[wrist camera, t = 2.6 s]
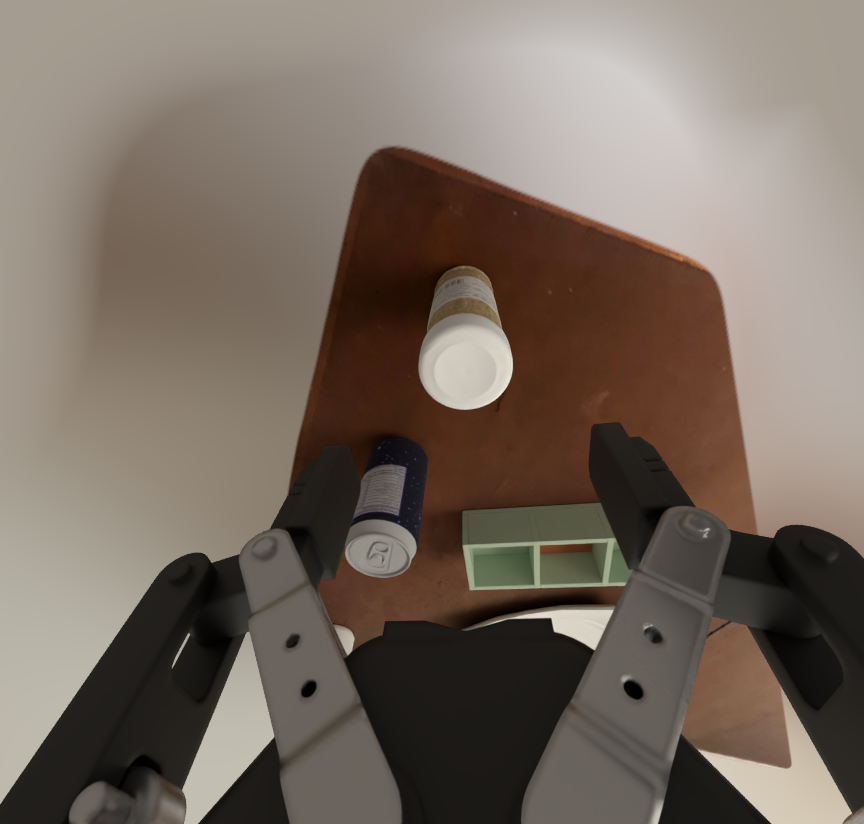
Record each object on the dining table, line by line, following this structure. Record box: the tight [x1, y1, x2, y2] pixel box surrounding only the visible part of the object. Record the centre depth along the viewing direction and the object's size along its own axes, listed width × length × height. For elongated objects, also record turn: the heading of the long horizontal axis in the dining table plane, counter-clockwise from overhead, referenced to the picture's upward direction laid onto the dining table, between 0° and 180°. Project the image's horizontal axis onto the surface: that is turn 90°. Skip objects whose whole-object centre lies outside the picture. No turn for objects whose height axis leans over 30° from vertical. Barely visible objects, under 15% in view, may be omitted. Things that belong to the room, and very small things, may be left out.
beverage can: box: [345, 438, 428, 578], centre depth 33 cm, size 6×6×12 cm
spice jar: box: [419, 266, 513, 410], centre depth 24 cm, size 5×5×13 cm
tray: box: [462, 503, 633, 590], centre depth 41 cm, size 21×8×5 cm, turn 99°
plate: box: [462, 604, 615, 650], centre depth 54 cm, size 24×24×3 cm
